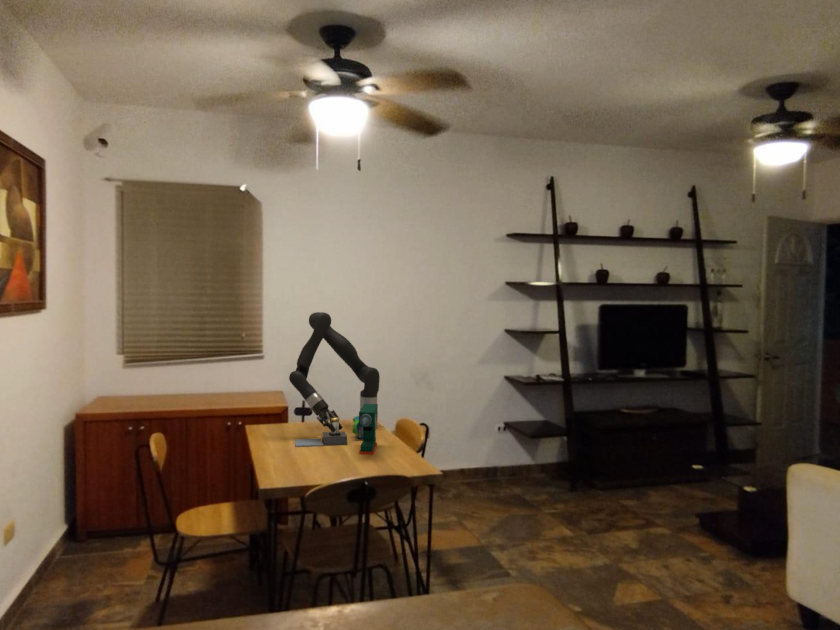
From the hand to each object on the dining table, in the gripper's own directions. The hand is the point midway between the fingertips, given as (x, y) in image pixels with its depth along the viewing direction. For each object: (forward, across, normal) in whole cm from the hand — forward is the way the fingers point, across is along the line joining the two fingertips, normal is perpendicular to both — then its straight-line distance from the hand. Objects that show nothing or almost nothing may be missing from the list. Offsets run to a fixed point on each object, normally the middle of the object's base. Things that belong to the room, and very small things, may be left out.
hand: (337, 429), depth 304 cm
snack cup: (+9, +15, 0) cm, 18 cm away
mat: (-4, -7, +13) cm, 15 cm away
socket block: (+3, 0, +6) cm, 7 cm away
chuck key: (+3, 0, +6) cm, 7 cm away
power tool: (+20, -11, -11) cm, 25 cm away
